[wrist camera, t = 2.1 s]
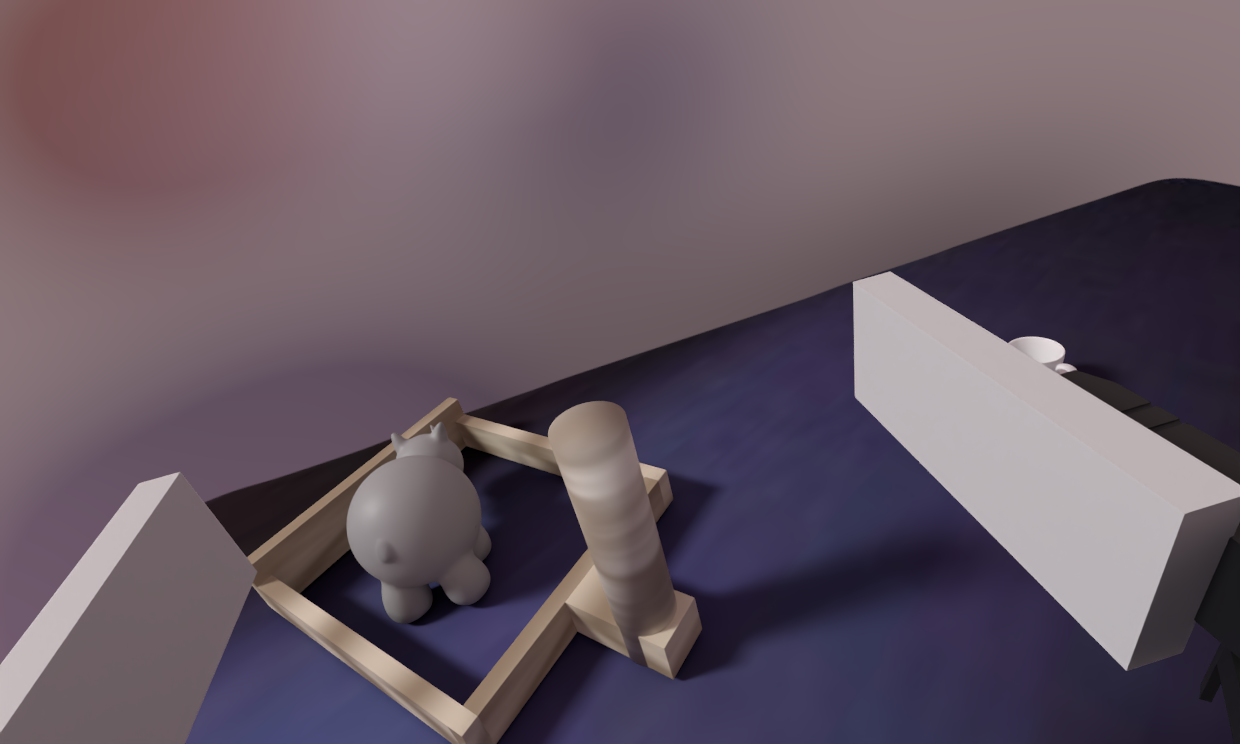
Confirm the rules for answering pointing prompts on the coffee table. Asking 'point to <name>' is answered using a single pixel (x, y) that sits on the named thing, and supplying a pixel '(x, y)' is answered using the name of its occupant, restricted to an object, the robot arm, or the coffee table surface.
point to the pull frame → (583, 602)
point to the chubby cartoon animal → (420, 527)
